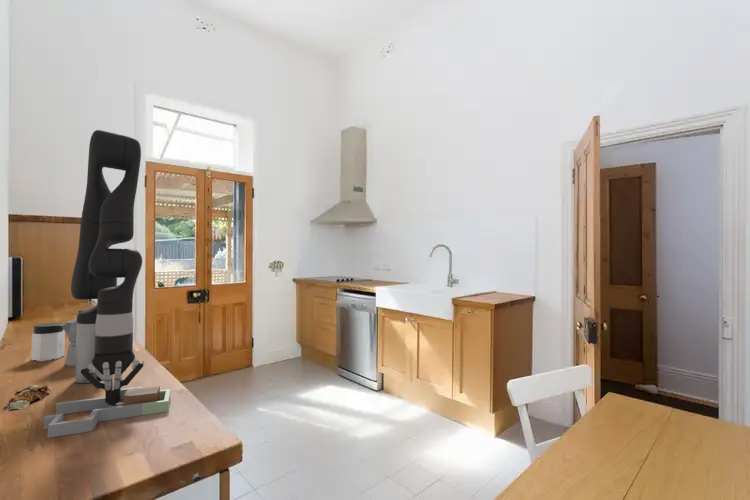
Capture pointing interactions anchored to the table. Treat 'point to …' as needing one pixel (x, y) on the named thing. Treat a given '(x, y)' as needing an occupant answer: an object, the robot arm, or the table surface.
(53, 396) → the table surface
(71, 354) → the coffee maker
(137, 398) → the block
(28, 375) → the table surface
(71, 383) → the table surface
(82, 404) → the track
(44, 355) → the jar
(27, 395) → the pastry
